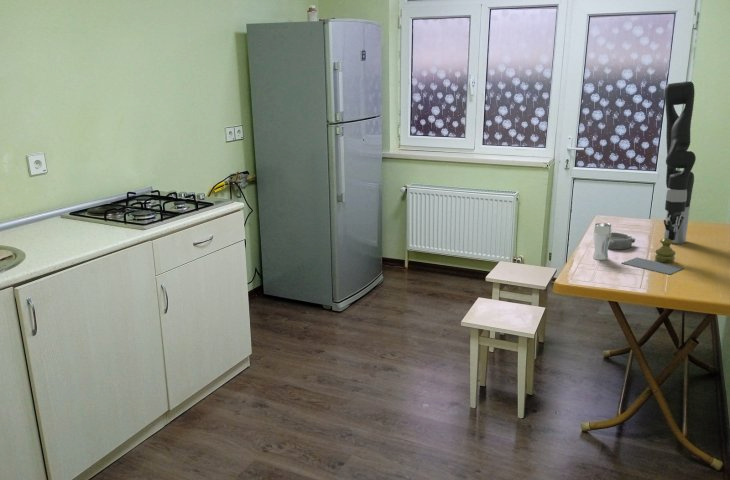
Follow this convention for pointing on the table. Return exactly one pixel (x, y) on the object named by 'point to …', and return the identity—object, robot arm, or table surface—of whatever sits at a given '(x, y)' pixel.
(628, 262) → the mat
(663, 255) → the brass door knob
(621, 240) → the dish
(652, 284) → the table surface
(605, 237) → the beer glass
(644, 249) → the table surface
